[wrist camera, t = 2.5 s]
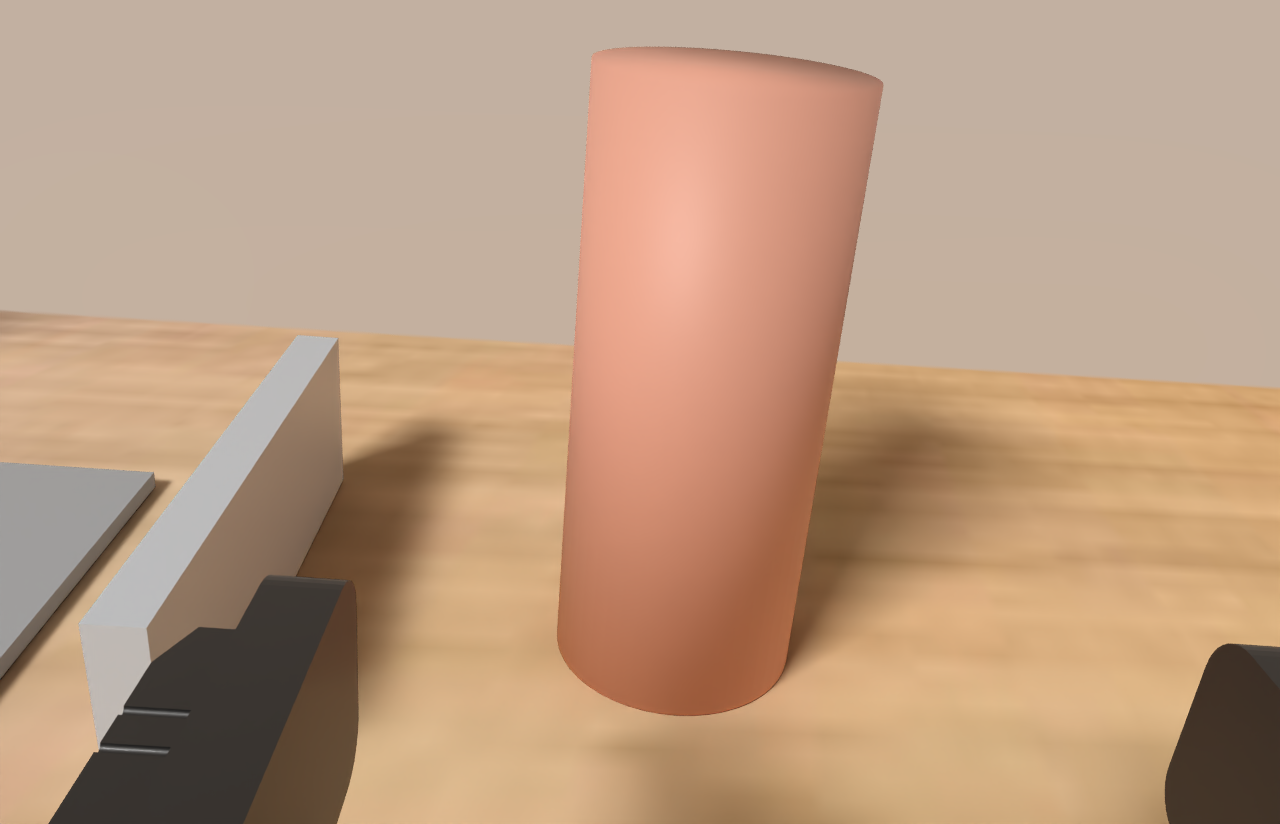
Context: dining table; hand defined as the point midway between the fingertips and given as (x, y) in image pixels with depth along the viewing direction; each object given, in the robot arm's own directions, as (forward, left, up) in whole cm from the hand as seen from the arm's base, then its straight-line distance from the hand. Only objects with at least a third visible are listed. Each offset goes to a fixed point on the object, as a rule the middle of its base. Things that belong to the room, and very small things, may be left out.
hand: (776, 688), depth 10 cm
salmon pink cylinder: (0, -11, -8) cm, 14 cm away
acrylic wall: (+9, -11, -8) cm, 16 cm away
